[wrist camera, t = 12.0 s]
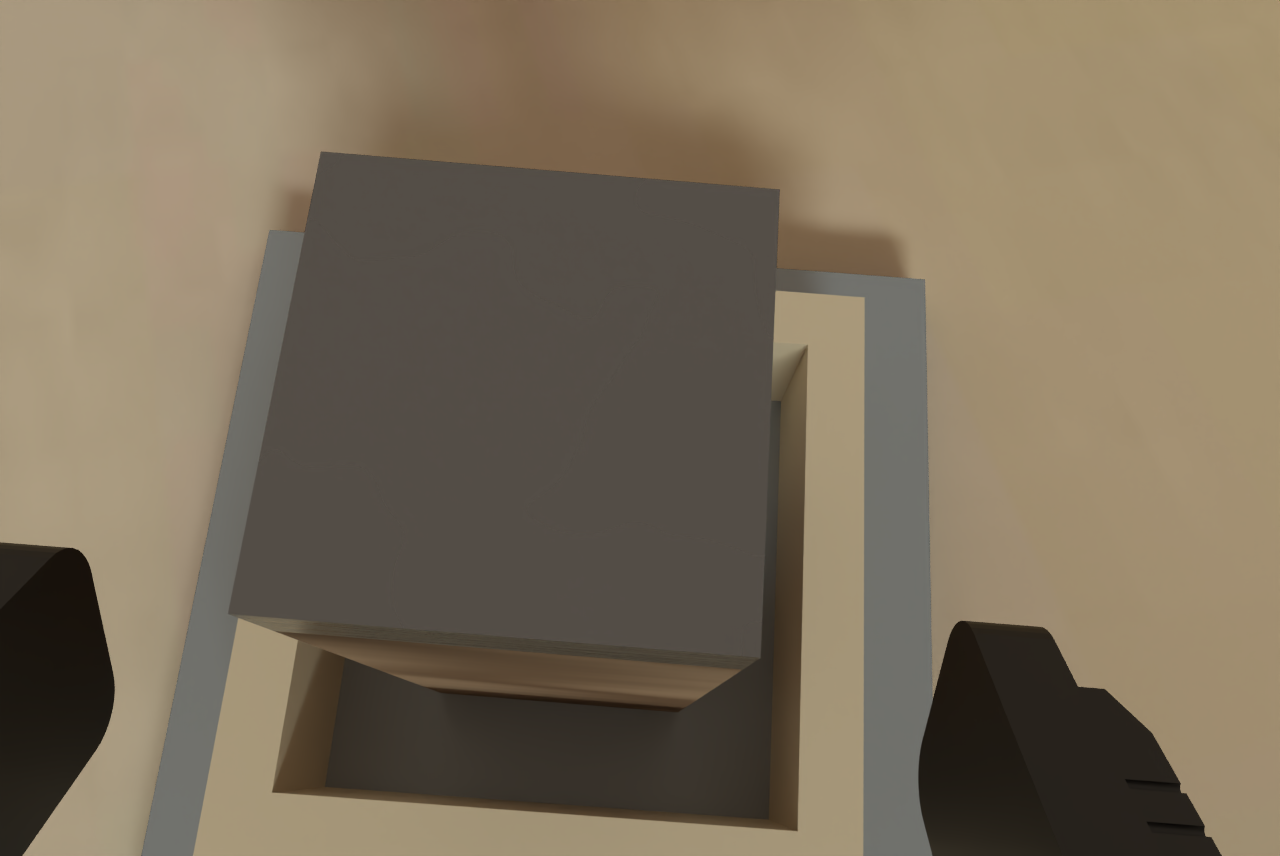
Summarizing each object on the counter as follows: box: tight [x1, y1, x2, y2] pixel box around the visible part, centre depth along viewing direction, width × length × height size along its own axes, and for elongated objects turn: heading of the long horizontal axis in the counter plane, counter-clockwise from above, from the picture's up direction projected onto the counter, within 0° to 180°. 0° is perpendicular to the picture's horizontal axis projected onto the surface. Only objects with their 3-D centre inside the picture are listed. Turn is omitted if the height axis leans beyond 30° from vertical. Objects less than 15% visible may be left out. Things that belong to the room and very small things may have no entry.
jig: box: [141, 230, 933, 856], centre depth 19 cm, size 14×14×4 cm
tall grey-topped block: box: [228, 152, 780, 712], centre depth 14 cm, size 4×4×11 cm
